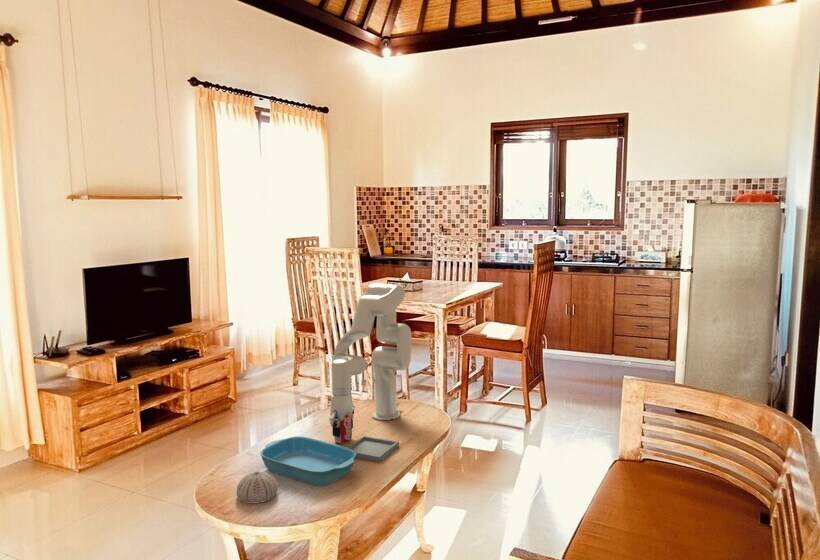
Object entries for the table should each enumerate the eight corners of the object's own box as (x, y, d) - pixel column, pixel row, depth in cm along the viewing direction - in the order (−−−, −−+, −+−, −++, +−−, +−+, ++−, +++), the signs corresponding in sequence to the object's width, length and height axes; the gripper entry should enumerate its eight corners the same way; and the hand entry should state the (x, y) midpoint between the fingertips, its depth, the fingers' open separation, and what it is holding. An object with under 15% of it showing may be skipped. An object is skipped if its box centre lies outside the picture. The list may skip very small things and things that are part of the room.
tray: (363, 440, 239) (363, 435, 239) (399, 446, 233) (398, 441, 232) (342, 455, 225) (342, 450, 225) (379, 462, 218) (379, 457, 218)
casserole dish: (369, 470, 212) (368, 451, 211) (328, 496, 193) (327, 475, 193) (292, 449, 232) (291, 432, 231) (248, 471, 213) (247, 452, 212)
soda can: (353, 438, 242) (352, 409, 241) (350, 444, 235) (349, 415, 234) (336, 437, 243) (335, 409, 241) (332, 444, 236) (331, 415, 234)
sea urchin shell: (270, 507, 186) (269, 483, 185) (228, 505, 188) (227, 481, 187) (284, 488, 199) (283, 465, 198) (245, 486, 201) (244, 463, 200)
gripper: (345, 383, 246) (346, 423, 248) (321, 395, 230) (323, 438, 232) (360, 385, 243) (362, 426, 245) (338, 398, 227) (339, 441, 229)
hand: (343, 432), depth 238 cm, fingers open, 9 cm apart
